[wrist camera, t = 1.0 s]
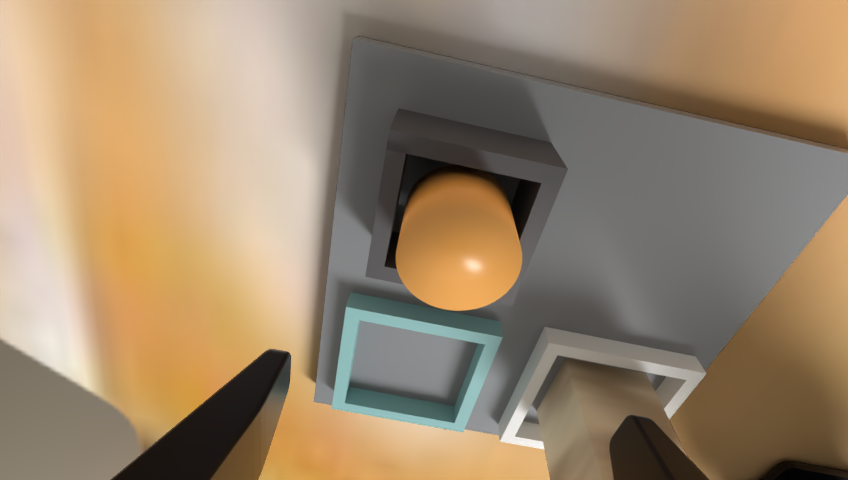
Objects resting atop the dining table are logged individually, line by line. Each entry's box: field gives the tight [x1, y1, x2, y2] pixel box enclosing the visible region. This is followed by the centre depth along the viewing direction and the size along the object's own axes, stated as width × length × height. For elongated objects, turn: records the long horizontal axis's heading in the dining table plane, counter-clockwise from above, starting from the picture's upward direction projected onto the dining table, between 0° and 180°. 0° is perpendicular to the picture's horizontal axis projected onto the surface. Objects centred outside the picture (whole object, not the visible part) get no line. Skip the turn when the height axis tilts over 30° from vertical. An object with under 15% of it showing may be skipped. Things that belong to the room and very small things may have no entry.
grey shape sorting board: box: [314, 36, 848, 449], centre depth 18 cm, size 18×18×4 cm
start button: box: [396, 164, 522, 311], centre depth 13 cm, size 4×4×3 cm
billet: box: [537, 358, 688, 480], centre depth 18 cm, size 4×4×7 cm
